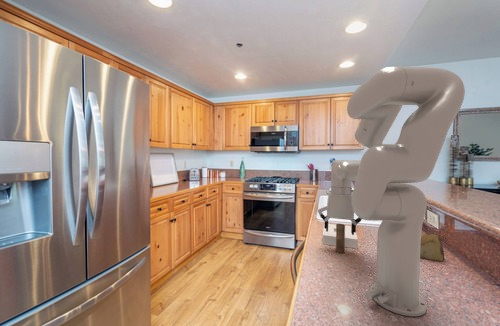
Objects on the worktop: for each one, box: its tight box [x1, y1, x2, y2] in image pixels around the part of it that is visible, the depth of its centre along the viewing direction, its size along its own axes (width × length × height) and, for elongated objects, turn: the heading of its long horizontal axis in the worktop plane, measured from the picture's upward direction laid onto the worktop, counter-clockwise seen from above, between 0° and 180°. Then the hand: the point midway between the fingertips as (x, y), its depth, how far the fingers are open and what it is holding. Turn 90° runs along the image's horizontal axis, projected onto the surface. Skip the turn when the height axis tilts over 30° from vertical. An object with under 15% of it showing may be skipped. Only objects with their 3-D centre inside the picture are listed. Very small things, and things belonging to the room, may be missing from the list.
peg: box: [335, 223, 346, 254], centre depth 88 cm, size 3×3×11 cm
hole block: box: [321, 222, 359, 250], centre depth 102 cm, size 18×14×4 cm
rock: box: [420, 233, 445, 262], centre depth 84 cm, size 11×9×10 cm
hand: (339, 232), depth 89 cm, fingers open, 9 cm apart
